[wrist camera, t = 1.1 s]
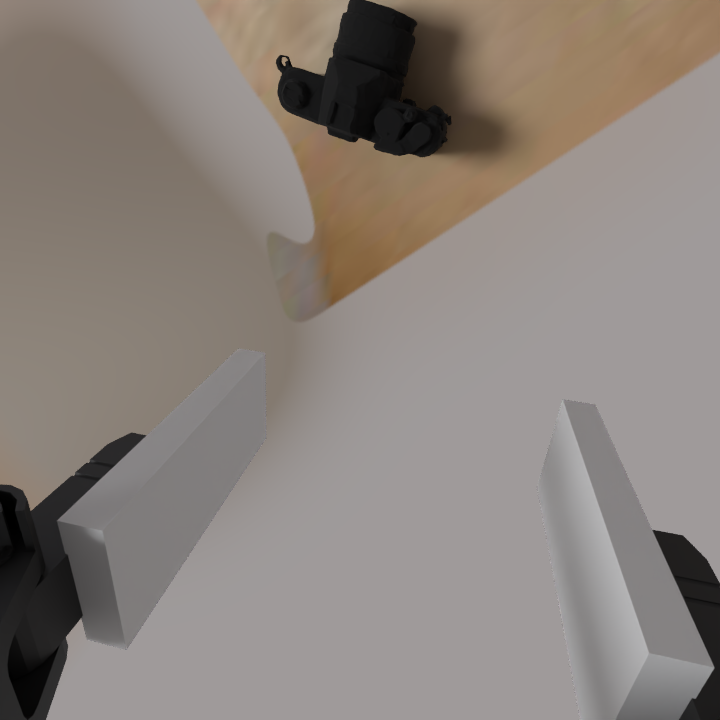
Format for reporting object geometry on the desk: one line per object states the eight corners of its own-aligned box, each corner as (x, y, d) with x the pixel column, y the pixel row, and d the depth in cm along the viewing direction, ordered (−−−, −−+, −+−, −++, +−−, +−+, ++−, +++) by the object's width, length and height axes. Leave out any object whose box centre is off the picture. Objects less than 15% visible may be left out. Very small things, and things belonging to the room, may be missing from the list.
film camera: (480, 49, 42) (482, 31, 34) (438, 165, 47) (432, 173, 39) (313, -8, 43) (278, -38, 35) (288, 112, 47) (251, 109, 39)
